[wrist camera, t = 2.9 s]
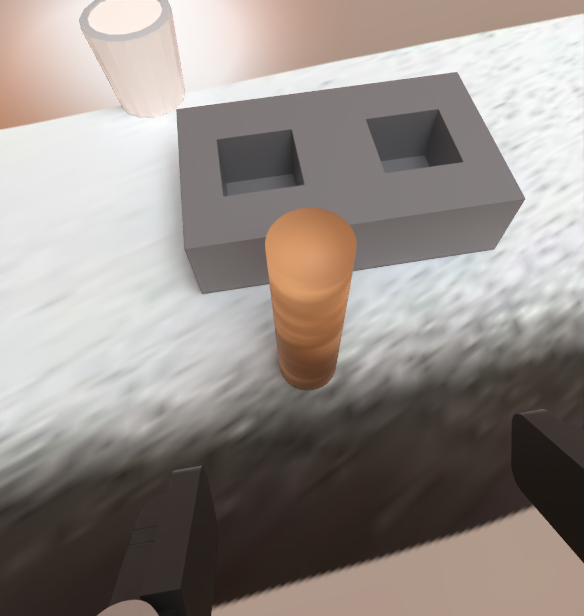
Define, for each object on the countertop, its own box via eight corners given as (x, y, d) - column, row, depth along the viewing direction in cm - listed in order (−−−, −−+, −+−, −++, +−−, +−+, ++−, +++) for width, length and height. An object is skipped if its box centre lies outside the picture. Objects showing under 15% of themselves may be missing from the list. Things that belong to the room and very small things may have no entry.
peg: (284, 394, 26) (271, 288, 16) (276, 341, 28) (259, 214, 17) (341, 385, 27) (366, 274, 16) (329, 333, 28) (345, 202, 18)
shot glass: (131, 133, 38) (96, 51, 31) (102, 89, 40) (66, 5, 34) (205, 103, 39) (186, 19, 33) (172, 62, 42) (149, -22, 36)
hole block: (202, 293, 30) (184, 249, 25) (192, 164, 36) (176, 109, 31) (494, 249, 31) (525, 198, 26) (439, 129, 37) (457, 72, 32)
